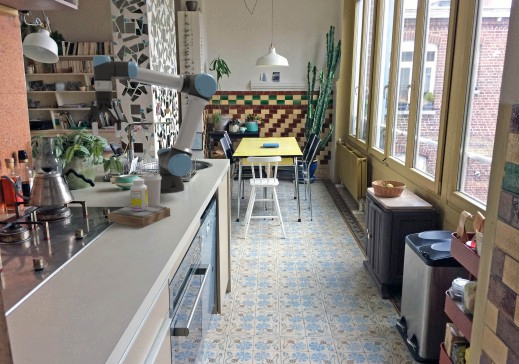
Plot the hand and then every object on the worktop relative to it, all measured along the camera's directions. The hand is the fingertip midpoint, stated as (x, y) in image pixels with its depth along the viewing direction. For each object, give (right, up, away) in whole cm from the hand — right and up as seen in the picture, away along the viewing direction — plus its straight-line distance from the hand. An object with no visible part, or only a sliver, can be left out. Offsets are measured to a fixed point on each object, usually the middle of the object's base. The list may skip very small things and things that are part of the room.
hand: (106, 136), depth 198 cm
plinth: (+22, -37, -21) cm, 47 cm away
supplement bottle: (+22, -33, -22) cm, 45 cm away
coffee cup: (+22, -33, -1) cm, 39 cm away
